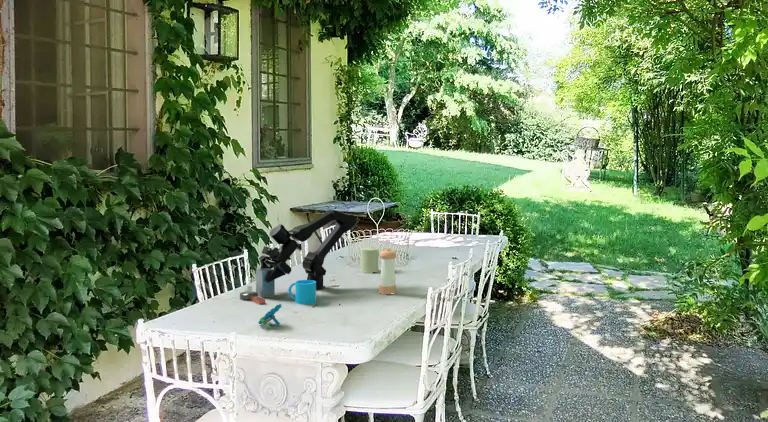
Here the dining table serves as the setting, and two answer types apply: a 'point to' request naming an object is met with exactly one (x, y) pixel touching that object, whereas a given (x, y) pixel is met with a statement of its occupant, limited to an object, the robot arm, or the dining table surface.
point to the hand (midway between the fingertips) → (262, 280)
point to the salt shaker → (387, 272)
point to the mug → (304, 291)
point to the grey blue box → (264, 283)
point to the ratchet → (251, 296)
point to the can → (369, 260)
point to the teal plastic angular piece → (270, 316)
